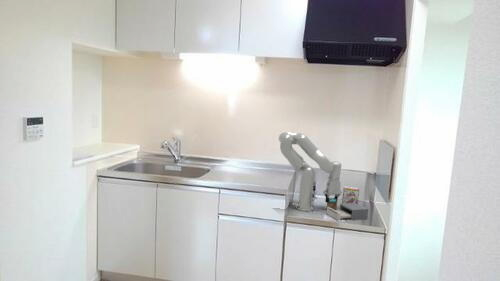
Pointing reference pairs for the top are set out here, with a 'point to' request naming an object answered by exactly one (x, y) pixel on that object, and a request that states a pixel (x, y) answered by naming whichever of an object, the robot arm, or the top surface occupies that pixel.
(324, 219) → the top surface
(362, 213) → the grey low box
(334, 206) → the block
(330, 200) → the disc
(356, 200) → the candy bar box
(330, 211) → the tray
